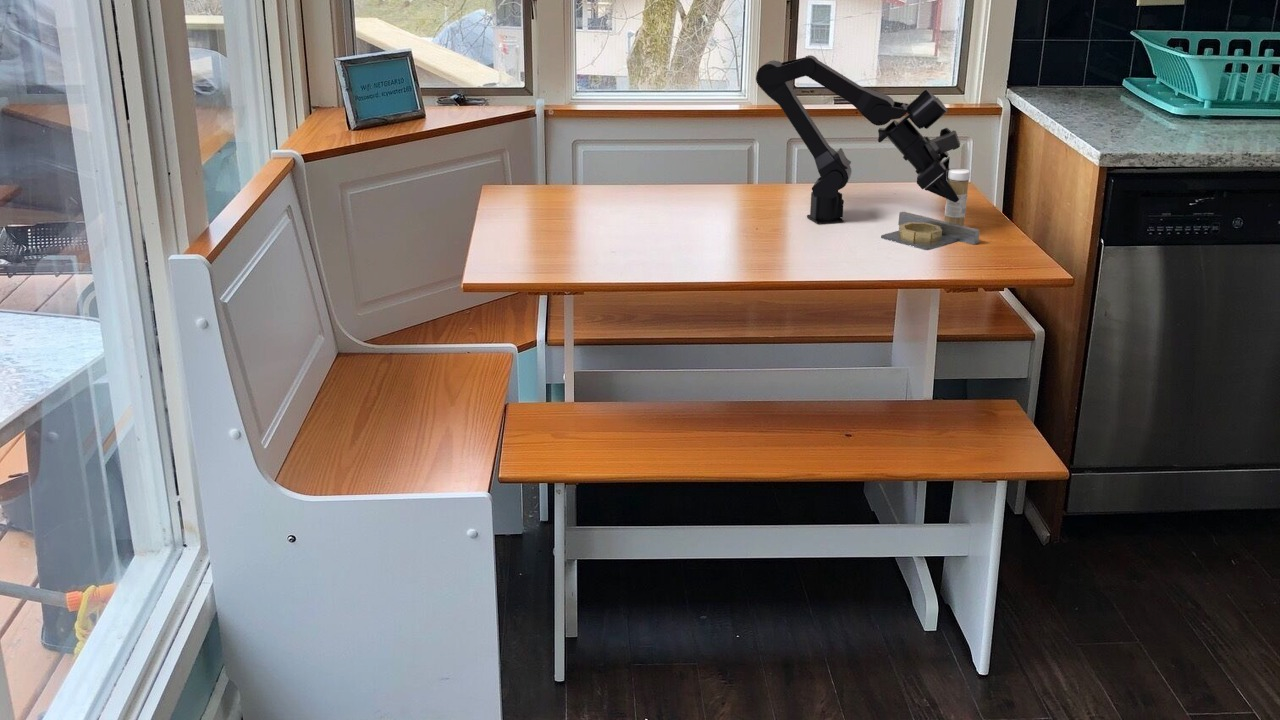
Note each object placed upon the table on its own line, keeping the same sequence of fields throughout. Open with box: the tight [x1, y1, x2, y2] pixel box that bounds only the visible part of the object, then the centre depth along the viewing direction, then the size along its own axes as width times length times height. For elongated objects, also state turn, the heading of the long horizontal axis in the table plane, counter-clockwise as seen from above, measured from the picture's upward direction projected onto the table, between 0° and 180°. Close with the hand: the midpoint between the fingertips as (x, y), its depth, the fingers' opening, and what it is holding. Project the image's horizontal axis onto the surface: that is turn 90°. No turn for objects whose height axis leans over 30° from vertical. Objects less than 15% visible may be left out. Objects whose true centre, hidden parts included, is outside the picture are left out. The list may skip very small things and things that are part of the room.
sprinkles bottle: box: [943, 167, 971, 226], centre depth 265 cm, size 5×5×13 cm
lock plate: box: [880, 211, 980, 251], centre depth 260 cm, size 20×12×3 cm, turn 41°
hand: (958, 196), depth 264 cm, fingers open, 9 cm apart
